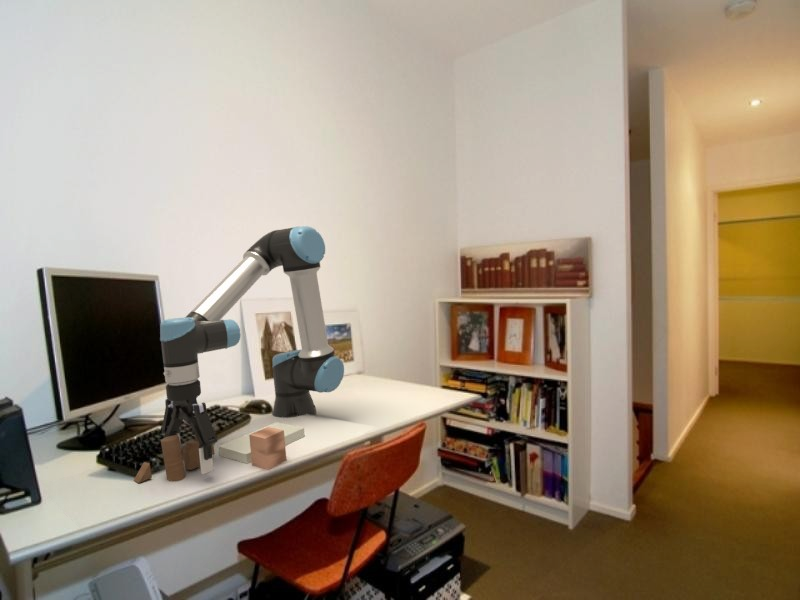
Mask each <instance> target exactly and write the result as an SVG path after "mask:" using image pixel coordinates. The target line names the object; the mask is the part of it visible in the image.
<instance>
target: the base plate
mask: <svg viewBox="0 0 800 600" xmlns="http://www.w3.org/2000/svg"><path fill="white" fill-rule="evenodd" d="M267 427H271V428H276V429H280V430H284V437H285V446H287V445H289V444H292V443H293V442H295V441H297V440H299V439H301V438H304V437H305V436H306V435H305V427H301V426H297V425H292V424H287V423H282V422H278V421H276V422H273V423H271V424H269V425H267V426H264V427H262V428H258V429H257V430H254V431H252V432H250V433H246V434H245V435H242V436H239V437H237V438H235V439H232V440H229V441H227V442H225V443H223V444H221V445H218V446H217V447H218V455H219V456H220V457H223V458H227V459H230V460H235V461H237V462H241V463H243V464H250V463H252V459H251V448H250V438H249V435H250V434H252V433H255V432H257V431H260V430H262V429H264V428H267Z"/></svg>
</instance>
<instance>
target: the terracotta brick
mask: <svg viewBox="0 0 800 600" xmlns="http://www.w3.org/2000/svg"><path fill="white" fill-rule="evenodd" d="M263 428H264V427H263ZM249 438H250V448H251V459H252V462H251V465H252V467H256V468H259V469H262V470H265V471H269V470H270V469H272V468H274V467H277V466H279V465H280V464H282V463H284V462H286V461H287V451H286V445H285V437H284V430H280V429H276V428H271V427H267V428H264V429H262V430H260V431H257V432H255V433H252V434H250V435H249Z"/></svg>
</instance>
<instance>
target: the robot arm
mask: <svg viewBox="0 0 800 600" xmlns="http://www.w3.org/2000/svg"><path fill="white" fill-rule="evenodd" d="M325 254H326V244H325V241H324V238H323V237H322V235H321V234H320V233H319V231H317V230H316V229H315V227H312V226H308V225H307V226H304V225H303V226H299V225H298V226H295V227H290V228H282V229H275V230H272V231H270V232H268V233H266V234H265V235H263V236H262V237H260V238H259V239H258V240H257V241H256V242H255V243H254V244H252V245H251V246H250V247H249V248H248V249H247V250H246V251H245V252H244V253H243V255H242V260H241V261H240V262H239V263H238V264H237V265H236V266H235V267H233V269H232V270H231V271H229V273H227V275H226V276H225V277H224V278H223V279H222V280H221V281H220V282H218V284H217V285H216V286H215V287H214V288H212V290H211V291H210V292H209V293H208V294H207V295H206V296H205V297H204V298H203V299H202V300H201V301H200V302H199V303H198V304H197V305H196V306H195V307H193V309H191V311H190V312H189V313H188V314H187V315H186V316H184V317H176V318H168V319H164V320H162V321H161V322H160V327H159V328H160V329H159V330H160V332H159V334H160V337H159V341H160V342H161V343H160V344H161V352H162V363H163V369H164V372H162V373H163V375H164V380H165V383H166V385H165V392H166V393H165V394H166V398H165V401H164V403H165V409H164V415H163V421H162V426H161V433H162V434H165V437H168V436H173V435H178V436H179V439H180V445H181V446H182V444H181V443H182V442H181V434H180V433H181V431H180V428H181V425H182V424H183V421H184V422H186V424H188V425H189V427H191V429H192V431H193V433H194V436H195V435H196V437H197V439H198V441H199V443H200V446H199V447H198V448H199V456H200V466H199V467H200V474H201V475H205V474H207V473H210V472H212V471H214V461H213V455H212V446H211V445H212V444H213V445H214V444H216V443H218V438H217V435H216V432H215V430H214V426H213V425H212V421H211V419H210V416H209V414H208V409H207V405H206V402H201V403H198V400H197V398H198V397H200V395H201V393H202V389H201V388H202V387H201V381H200V380H199V378H200V369H199V368H200V366H199V355H200V354H203V353H208V352H213V351H218V350H223V349H225V350H227V349H228V348H232V347H236V346H237V344H239V342H240V340H241V329H240V326H239V324H238V323H237V322H236V321H235V320H233V319H223V317H224V316H226V314H228V313H229V312H230V310H231V309H233V307H234V306H235V304H237V303H238V301H239V300H240V299H241V298H242V297H244V295H245V294H246V293H247V292H248V291H249V290H250V289H251V288H252V287H253V285H255V283H256V282H257V281H258V280H260V278H261V277H262V276H267V275H268V274H269V273H270V272H271V271H272V270H274V269H276V268H278V267H282V270H283V273H284V274H285V275H286V276H287V277H289V281H290V286H291V287H290V288H291V293H292V298H293V305H294V310H295V317H296V322H297V323H296V324H297V328H298V334H299V340H300V346H301V349H295V350H291V351H290V350H289V351H285V352H281V353H277V354H275V355H273V357H272V366H271V367H272V368H271V369H272V376H273V384H274V385H273V386H274V393H275V394H274V395H275V398H274V402H273V409H272V412H271V416H273V417H275V418H279V419H280V418H283V419H288V418H296V417H297V418H298V417H301V416H306V415H310V416H316V415H317V407H316V405H315V404H314V400H313V398H312V396H311V393H310V392H316V393H331V392H334V391H335V390H336V389H338V387H339V386H340V385H341V382H342V381H343V379H344V374H345V365H344V362H343V361H342V360H341V358H340V357H338V356H335V349H334V347H332V346H331V345H329V342H328V336H327V330H326V323H325V317H324V310H323V303H322V298H321V291H320V285H319V281H318V280H319V279H318V272H319V271H320V268H321V261H323V259H324V257H325ZM198 354H199V355H198Z"/></svg>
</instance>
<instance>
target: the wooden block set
mask: <svg viewBox="0 0 800 600" xmlns="http://www.w3.org/2000/svg"><path fill="white" fill-rule="evenodd" d="M194 439H195V440H190V441H188V442H186V443H185V445H184V447H183V448H182V444H181V445H180V441H181V438H180V439H179V436H178V435H177V434H176V435H173V436H168V437H167V436H165V437H164V438H162V439H161V440H160V445H161V451H162V456H163V463H164V468H165V475H166V479H167V481H168V482H172V483H173V482H180V481H182V480H184V479H185V478H186V470H189V471H192V470H194V469H196V468H199V467H201V466H200V456H199V448H198V447H199V446H200V443H199V441H198V439H197V437H196V435H195V434H194ZM211 446H212V456H213V455H215V447H214V443H213V444H212V445H211ZM152 475H153V474H152V469H151V463H150V462H149V463H148V462H145V461H143V463H142V465H141V467H140V468H139V469H138V471H137V474H136V475H135V477H134V479H133V481H134V482H135V483H138V484H140V483H142V482H144V481H147V480H149V479H152V478H153V476H152Z"/></svg>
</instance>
